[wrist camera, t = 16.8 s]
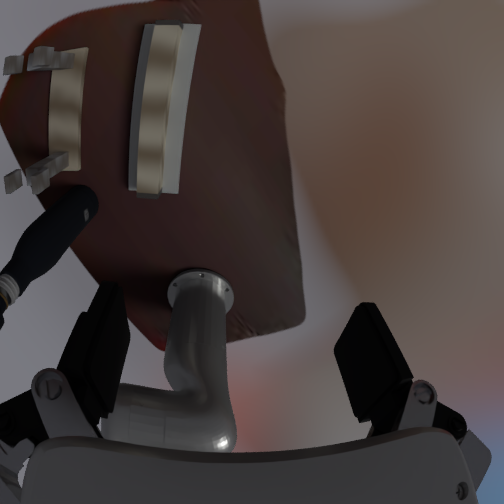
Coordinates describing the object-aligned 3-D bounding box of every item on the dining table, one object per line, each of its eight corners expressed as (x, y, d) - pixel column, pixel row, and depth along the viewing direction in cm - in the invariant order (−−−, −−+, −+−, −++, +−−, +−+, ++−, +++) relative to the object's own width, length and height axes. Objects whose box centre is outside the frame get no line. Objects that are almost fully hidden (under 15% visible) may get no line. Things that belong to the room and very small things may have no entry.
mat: (178, 192, 42) (177, 193, 41) (129, 188, 40) (128, 189, 40) (201, 25, 28) (200, 24, 28) (146, 25, 27) (145, 24, 26)
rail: (162, 191, 41) (157, 199, 38) (142, 189, 40) (136, 197, 37) (183, 25, 27) (180, 20, 25) (161, 25, 27) (156, 20, 24)
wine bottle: (61, 198, 40) (-47, 319, 14) (83, 177, 38) (-39, 298, 13) (82, 225, 43) (-7, 360, 18) (105, 206, 41) (8, 348, 16)
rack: (81, 168, 37) (38, 200, 26) (52, 168, 36) (6, 199, 25) (89, 47, 27) (42, 39, 16) (57, 53, 26) (6, 51, 15)
